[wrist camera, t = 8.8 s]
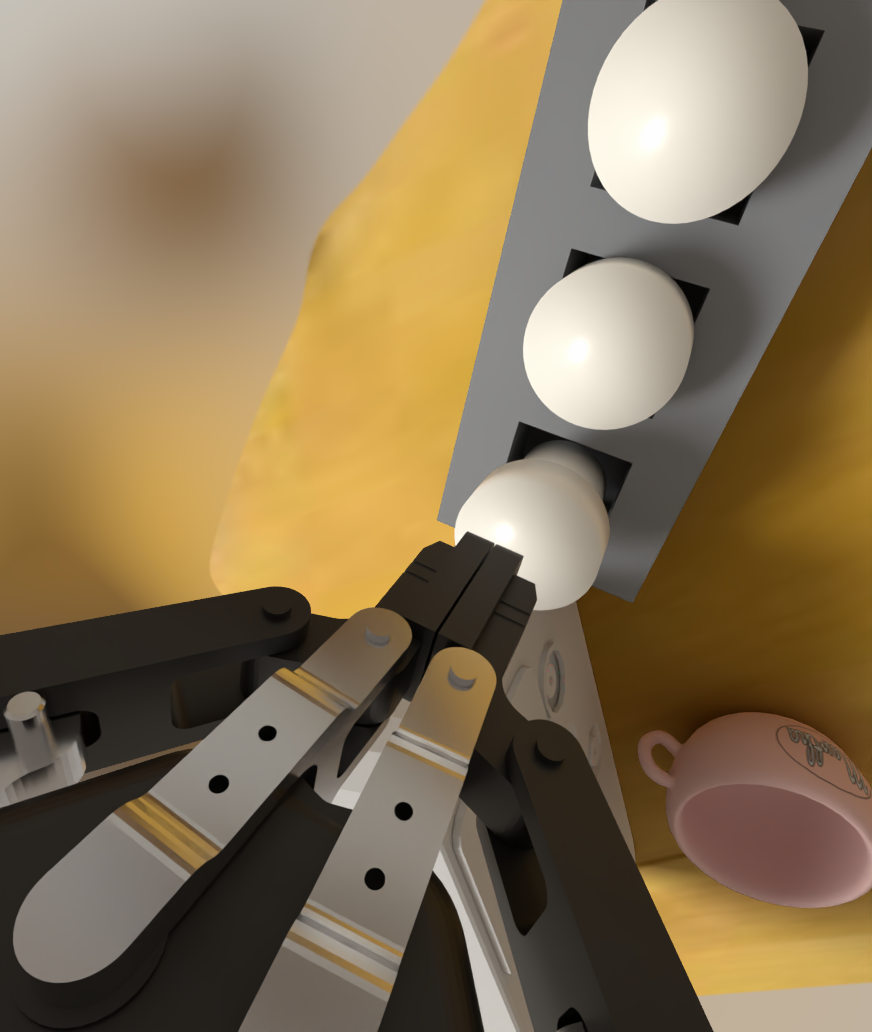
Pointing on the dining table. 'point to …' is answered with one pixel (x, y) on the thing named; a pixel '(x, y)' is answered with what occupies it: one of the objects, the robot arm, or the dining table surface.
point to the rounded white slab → (461, 863)
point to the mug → (768, 809)
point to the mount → (674, 249)
